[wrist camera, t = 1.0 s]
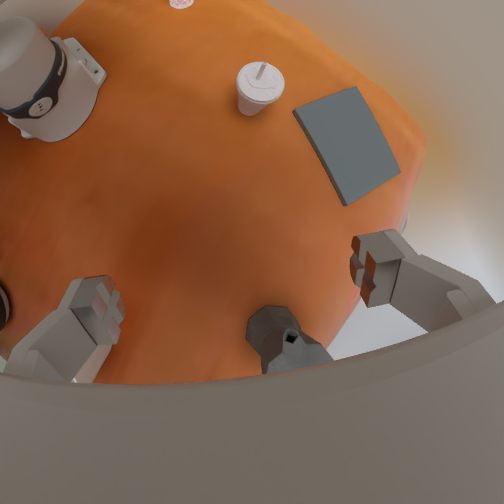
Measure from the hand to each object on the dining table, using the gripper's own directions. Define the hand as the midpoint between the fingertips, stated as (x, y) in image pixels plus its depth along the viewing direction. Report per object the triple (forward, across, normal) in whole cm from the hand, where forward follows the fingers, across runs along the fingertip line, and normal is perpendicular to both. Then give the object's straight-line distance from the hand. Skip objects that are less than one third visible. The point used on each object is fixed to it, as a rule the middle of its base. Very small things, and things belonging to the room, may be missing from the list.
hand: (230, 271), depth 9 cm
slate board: (+39, -21, +7) cm, 44 cm away
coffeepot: (+23, -2, +33) cm, 40 cm away
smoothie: (+40, -4, -1) cm, 40 cm away
